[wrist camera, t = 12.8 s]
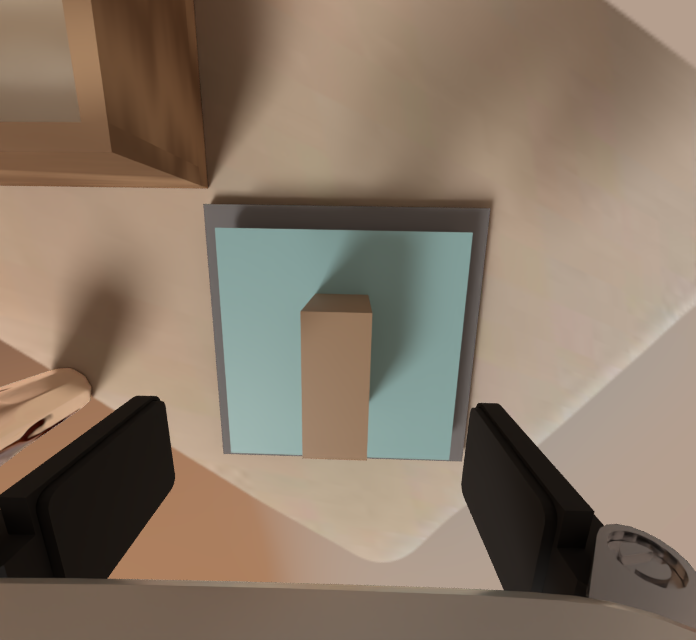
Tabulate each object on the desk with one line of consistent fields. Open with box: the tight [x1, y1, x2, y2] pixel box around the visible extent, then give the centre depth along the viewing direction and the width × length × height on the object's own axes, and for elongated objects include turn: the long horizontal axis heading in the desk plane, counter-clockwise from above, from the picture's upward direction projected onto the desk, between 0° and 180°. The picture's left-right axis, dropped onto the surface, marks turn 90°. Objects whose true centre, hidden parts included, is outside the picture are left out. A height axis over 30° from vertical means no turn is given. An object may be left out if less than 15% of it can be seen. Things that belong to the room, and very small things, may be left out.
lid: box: [215, 228, 473, 460], centre depth 18 cm, size 14×14×7 cm
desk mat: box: [203, 204, 490, 461], centre depth 21 cm, size 17×17×1 cm
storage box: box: [0, 0, 208, 188], centre depth 15 cm, size 13×13×8 cm
